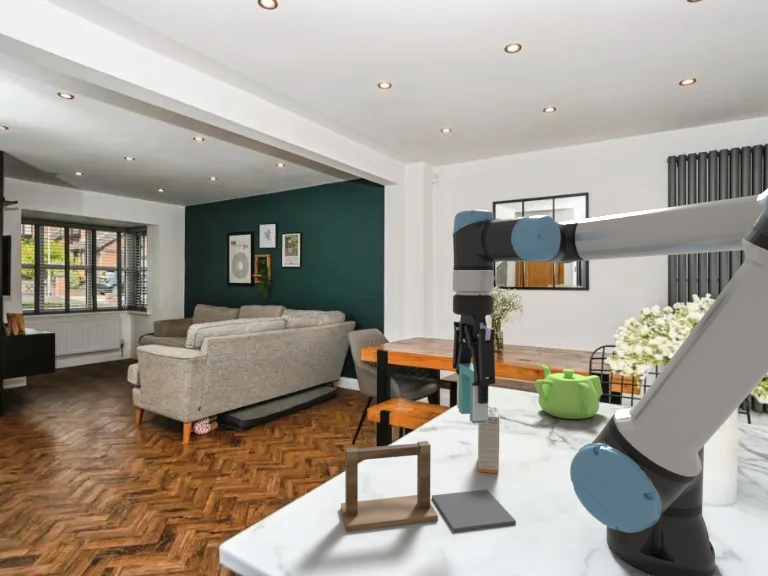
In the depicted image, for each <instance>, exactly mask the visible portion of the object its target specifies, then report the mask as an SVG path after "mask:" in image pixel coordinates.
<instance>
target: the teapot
mask: <svg viewBox="0 0 768 576" xmlns="http://www.w3.org/2000/svg"><path fill="white" fill-rule="evenodd" d="M540 366H541V367H542V369H543V371H544V373H543V374H544V379H536V380H535V382H534V387H535V391H536V392H537V394H538V404H539V407H540V408H541V410H542V411H543V412H545V413H547V414H549V415H551V416H553V417H556V418H561V419H564V418H565V419H566V420H570V419H571V420H576V419H578V420H580V419H588V418H593V417H594V416H595V415H596V414H597V412H598V411H599V409H600V403H599V398H600V397H601V396H602V395H603V394H604V393H603V388H602V384H601V379H600V376H598V375H596V374H594V375H588V376H585V375H581V374H578V373H575V370H574V369H569V368H567V369H566V368H565V369H562V370H561V371H562V372H559V373H558V372H557V373H552V372H551V369H550V368H549V366H548V365H545V364H541V365H540Z"/></svg>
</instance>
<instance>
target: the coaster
mask: <svg viewBox="0 0 768 576" xmlns="http://www.w3.org/2000/svg"><path fill="white" fill-rule="evenodd" d="M431 499H432V501H433V502H434V504H435V506H436V507H437V509H438V510H439V512H440V513H441V515H442V516H443V518H444V519H445V521H446V523H447V524H448V526H449V527H450V529H451V530H452V532H453V533H455V532H463V531H464V532H465V531H471V530H472V531H473V530H478V529H486V528H495V527H501V526H502V527H503V526H511V525H516V523H517V522H516V519H515V518H514V517H513V516H512V514H511V513H509V511H507V510H506V509H505V507H504V506H503V505H502V504H501V503H500V502H499V501H498V500H497V499H496V497H495V496H494V495H493V494H492V493H491V492H490V491H489V490H488V489H479V490H469V491H468V490H467V491H460V492H450V493H441V494H440V493H439V494H433V495H431Z"/></svg>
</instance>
